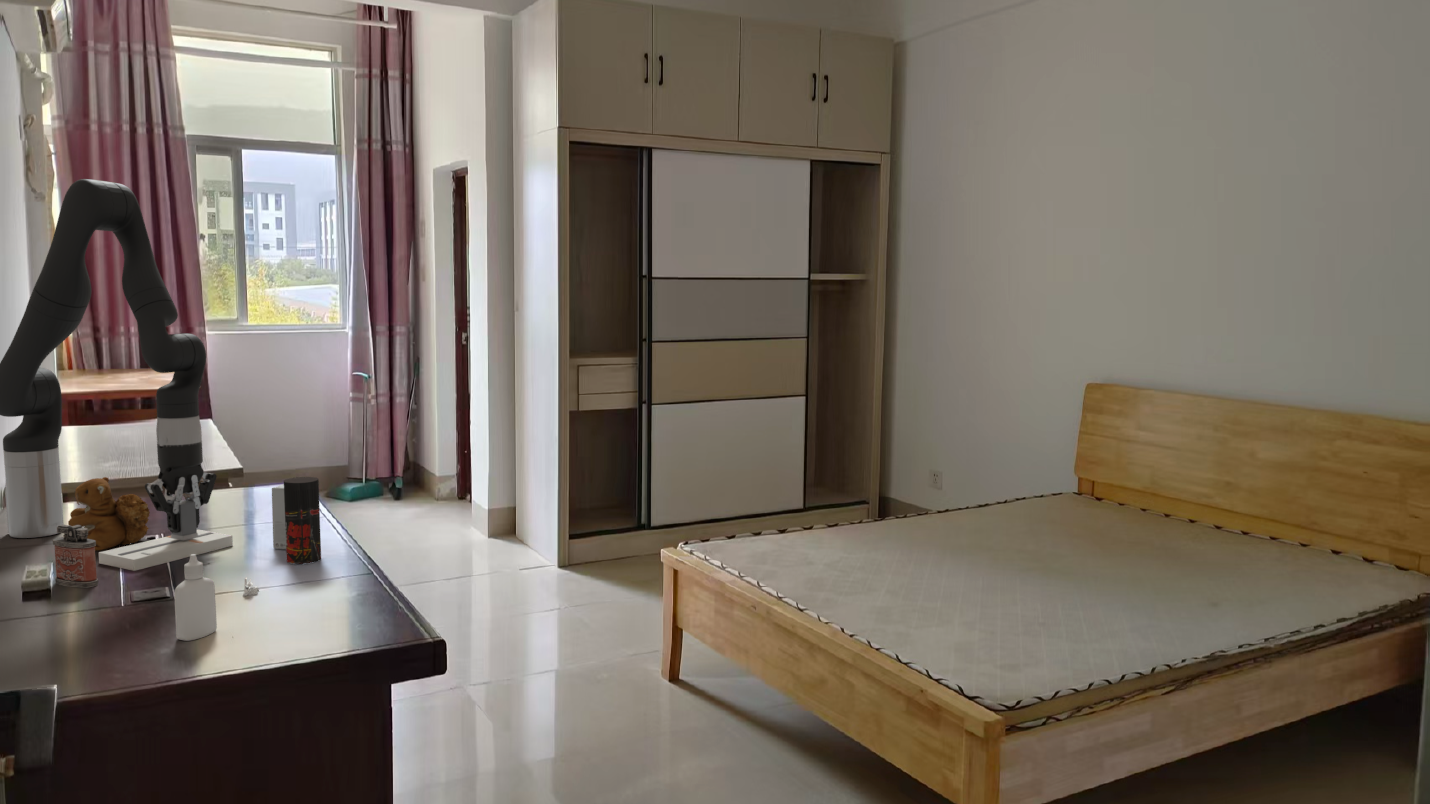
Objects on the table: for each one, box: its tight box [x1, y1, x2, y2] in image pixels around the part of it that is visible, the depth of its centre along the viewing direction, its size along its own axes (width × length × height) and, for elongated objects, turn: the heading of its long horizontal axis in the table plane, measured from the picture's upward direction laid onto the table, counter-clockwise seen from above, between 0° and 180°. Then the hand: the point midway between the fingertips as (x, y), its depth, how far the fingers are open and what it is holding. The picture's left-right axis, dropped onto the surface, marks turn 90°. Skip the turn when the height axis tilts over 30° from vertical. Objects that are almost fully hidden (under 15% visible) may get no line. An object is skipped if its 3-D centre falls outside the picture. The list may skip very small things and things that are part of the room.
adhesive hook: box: [242, 577, 260, 597], centre depth 170 cm, size 3×3×3 cm
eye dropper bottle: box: [173, 554, 218, 642], centre depth 149 cm, size 4×6×12 cm
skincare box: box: [271, 483, 286, 550], centre depth 199 cm, size 6×4×12 cm
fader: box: [170, 499, 198, 540], centre depth 196 cm, size 4×3×7 cm
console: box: [98, 529, 234, 572], centre depth 193 cm, size 10×20×2 cm, turn 153°
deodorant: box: [283, 476, 322, 565], centre depth 189 cm, size 6×6×15 cm
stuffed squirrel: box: [67, 476, 151, 552], centre depth 199 cm, size 10×14×13 cm
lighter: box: [52, 524, 99, 589], centre depth 174 cm, size 8×3×10 cm, turn 71°
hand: (183, 529), depth 196 cm, fingers closed on fader, 3 cm apart
